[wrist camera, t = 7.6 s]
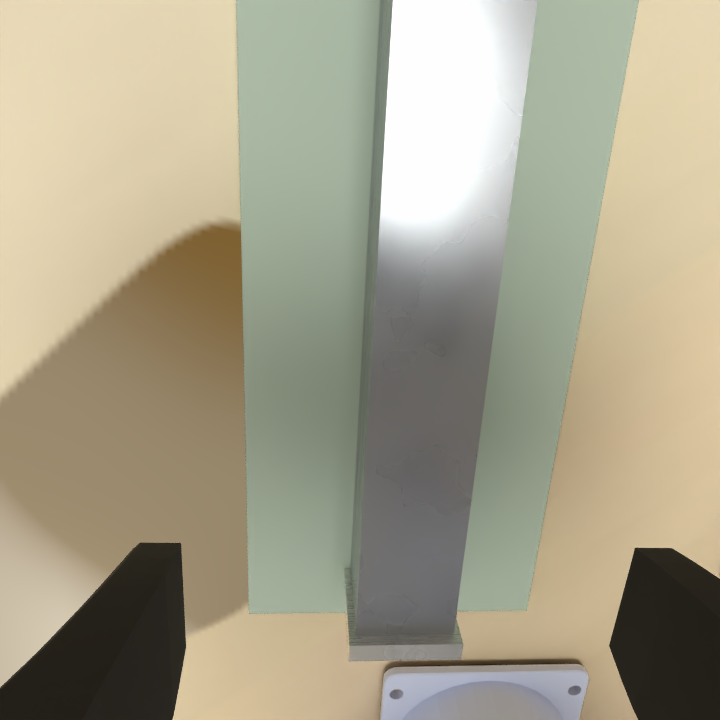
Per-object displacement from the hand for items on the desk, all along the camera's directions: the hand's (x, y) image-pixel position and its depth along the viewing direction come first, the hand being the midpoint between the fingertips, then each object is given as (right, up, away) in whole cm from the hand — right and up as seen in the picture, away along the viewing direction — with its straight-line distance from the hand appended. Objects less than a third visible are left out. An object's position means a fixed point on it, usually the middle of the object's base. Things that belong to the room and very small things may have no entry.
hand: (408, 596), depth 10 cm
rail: (+1, +5, +9) cm, 10 cm away
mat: (+1, +5, +9) cm, 11 cm away
